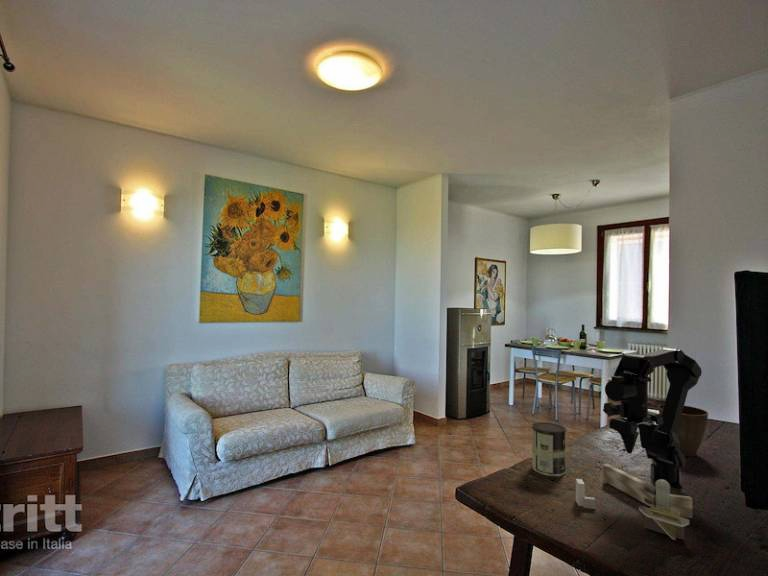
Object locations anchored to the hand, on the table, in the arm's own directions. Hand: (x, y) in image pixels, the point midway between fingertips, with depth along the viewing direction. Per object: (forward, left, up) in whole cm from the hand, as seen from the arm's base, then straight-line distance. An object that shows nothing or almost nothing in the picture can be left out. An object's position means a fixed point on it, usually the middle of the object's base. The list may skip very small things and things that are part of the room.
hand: (636, 450), depth 117 cm
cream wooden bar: (+3, +3, -11) cm, 12 cm away
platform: (+2, +23, -13) cm, 26 cm away
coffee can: (+23, -9, -12) cm, 28 cm away
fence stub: (-6, +12, -12) cm, 18 cm away
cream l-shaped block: (+17, +12, -12) cm, 24 cm away
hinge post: (-2, +12, -12) cm, 17 cm away
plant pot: (-28, -38, -12) cm, 49 cm away
